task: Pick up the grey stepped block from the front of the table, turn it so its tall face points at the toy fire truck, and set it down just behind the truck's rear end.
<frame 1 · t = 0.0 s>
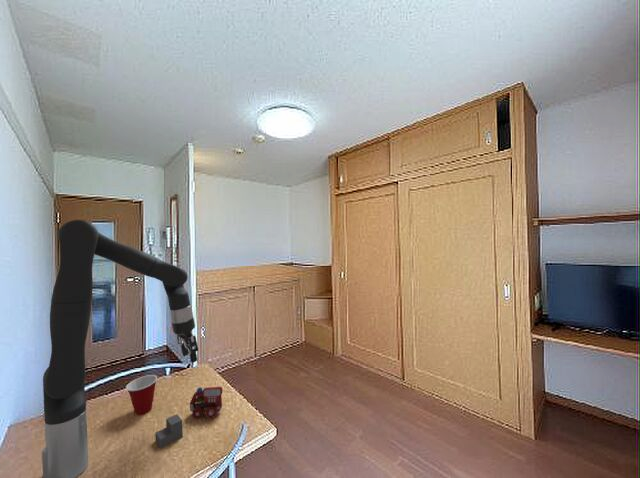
hand: (190, 358, 110), 22 cm above the table, tool pointing down, fingers open, 8 cm apart
toy fire truck: (207, 413, 111), on the table
plastic cup: (142, 411, 114), on the table
grey stepped block: (169, 439, 98), on the table
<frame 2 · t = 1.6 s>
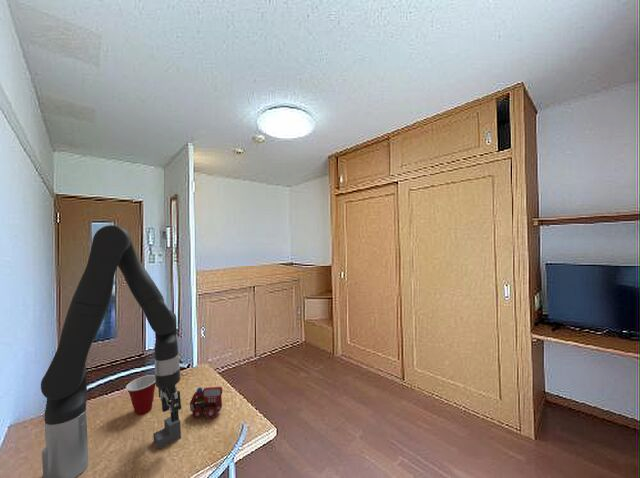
hand: (170, 415, 98), 8 cm above the table, tool pointing down, fingers open, 8 cm apart
nothing on the table moved.
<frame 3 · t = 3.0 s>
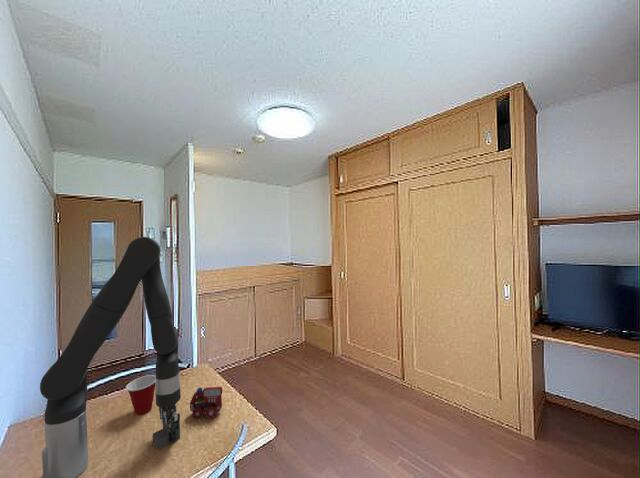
hand: (169, 436, 98), 1 cm above the table, tool pointing down, fingers closed on grey stepped block, 5 cm apart
grey stepped block: (166, 440, 97), on the table, touching gripper
everything else where it was.
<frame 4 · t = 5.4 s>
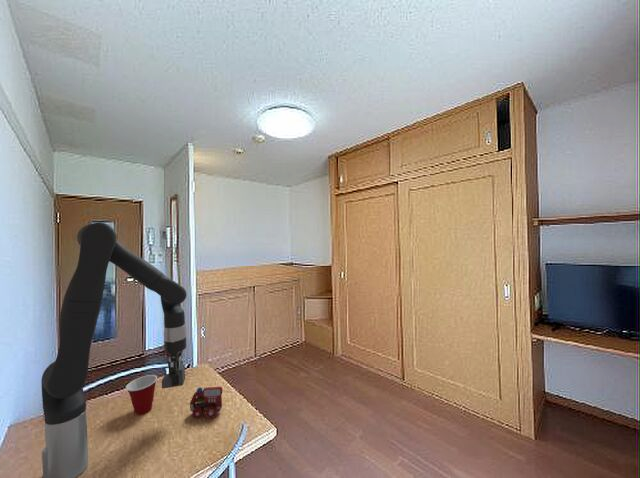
hand: (176, 381, 108), 14 cm above the table, tool pointing down, fingers closed on grey stepped block, 5 cm apart
grey stepped block: (173, 383, 108), point 14 cm above the table, touching gripper
everything else where it was.
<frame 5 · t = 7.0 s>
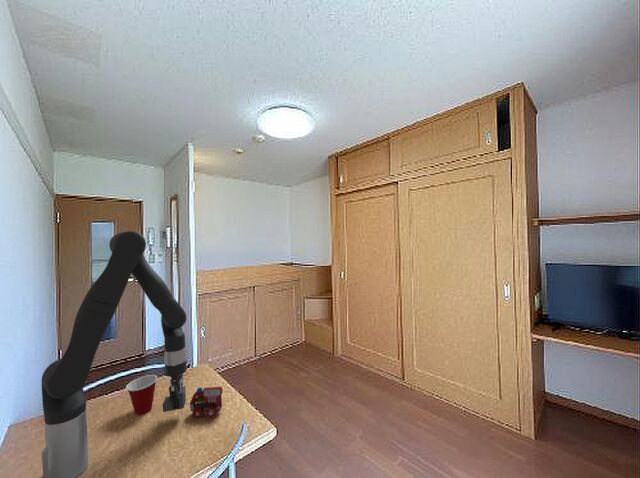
hand: (177, 404, 108), 6 cm above the table, tool pointing down, fingers closed on grey stepped block, 5 cm apart
grey stepped block: (174, 406, 108), point 5 cm above the table, touching gripper
everything else where it was.
when the fingers open (2 cm above the table, at t = 8.2 s): grey stepped block drops 1 cm, on the table.
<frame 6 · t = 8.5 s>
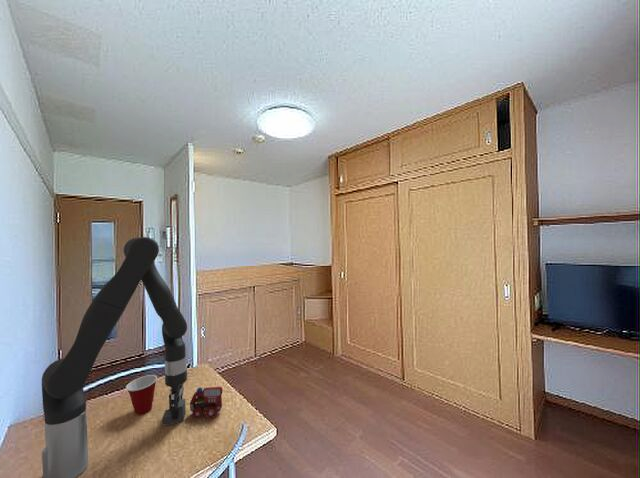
hand: (177, 412, 108), 2 cm above the table, tool pointing down, fingers open, 7 cm apart
grey stepped block: (174, 419, 108), on the table
everything else where it was.
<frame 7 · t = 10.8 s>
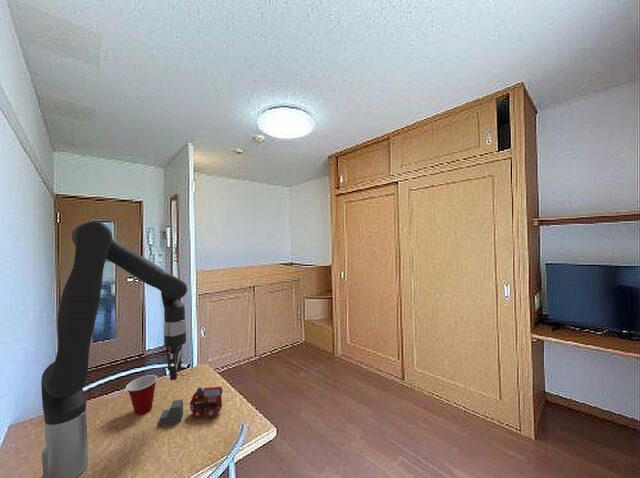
hand: (176, 374, 108), 17 cm above the table, tool pointing down, fingers open, 8 cm apart
nothing on the table moved.
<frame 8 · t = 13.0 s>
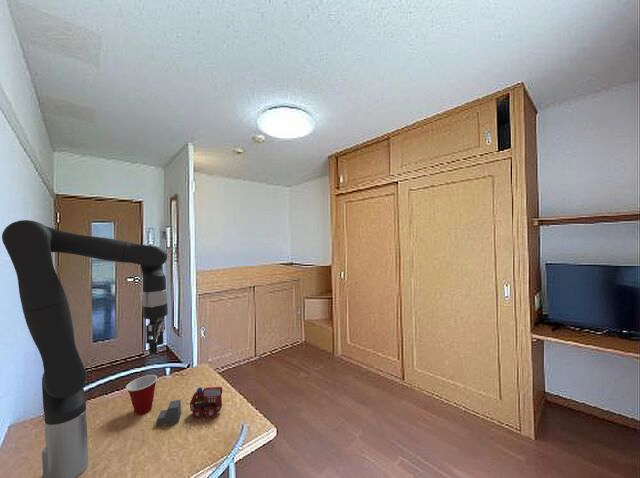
hand: (156, 348, 100), 30 cm above the table, tool pointing down, fingers open, 8 cm apart
at the end: grey stepped block inside the target area (1.8 cm from its centre), on the table; grey stepped block 13.3 cm from the toy fire truck (horizontally); toy fire truck moved 0.3 cm from its start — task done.
